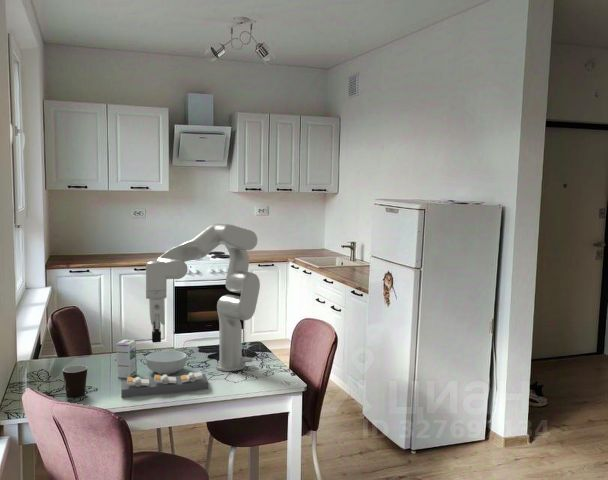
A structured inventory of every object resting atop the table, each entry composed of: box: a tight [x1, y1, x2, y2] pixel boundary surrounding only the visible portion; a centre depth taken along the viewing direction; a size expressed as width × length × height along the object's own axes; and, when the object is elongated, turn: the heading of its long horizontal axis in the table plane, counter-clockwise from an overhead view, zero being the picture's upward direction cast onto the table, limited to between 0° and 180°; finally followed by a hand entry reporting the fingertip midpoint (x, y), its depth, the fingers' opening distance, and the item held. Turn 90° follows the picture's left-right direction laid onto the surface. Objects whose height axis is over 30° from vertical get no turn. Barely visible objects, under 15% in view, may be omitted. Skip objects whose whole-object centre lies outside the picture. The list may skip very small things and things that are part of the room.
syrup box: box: [115, 339, 138, 379], centre depth 234 cm, size 6×6×14 cm
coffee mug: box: [62, 364, 88, 399], centre depth 214 cm, size 12×9×10 cm
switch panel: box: [120, 373, 209, 399], centre depth 220 cm, size 32×10×3 cm, turn 107°
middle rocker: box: [153, 374, 176, 384], centre depth 217 cm, size 8×4×2 cm, turn 107°
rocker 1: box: [126, 376, 150, 387], centre depth 215 cm, size 8×4×2 cm, turn 107°
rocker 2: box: [180, 371, 203, 383], centre depth 220 cm, size 8×4×2 cm, turn 107°
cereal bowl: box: [145, 350, 188, 376], centre depth 240 cm, size 17×17×7 cm
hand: (156, 341), depth 215 cm, fingers closed
